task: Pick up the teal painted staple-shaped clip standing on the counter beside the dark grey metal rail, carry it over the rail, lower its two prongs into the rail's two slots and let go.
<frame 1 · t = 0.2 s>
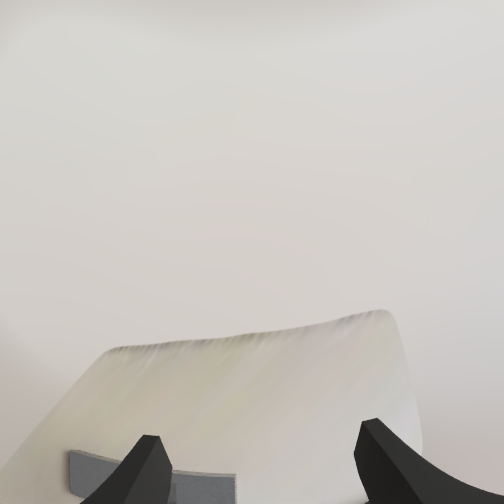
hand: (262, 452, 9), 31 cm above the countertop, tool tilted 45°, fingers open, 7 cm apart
rail: (150, 488, 29), on the countertop
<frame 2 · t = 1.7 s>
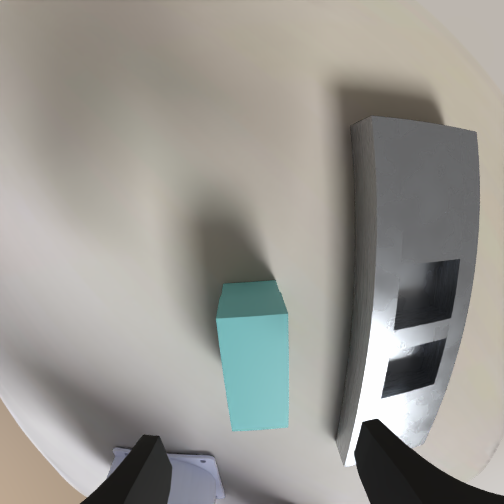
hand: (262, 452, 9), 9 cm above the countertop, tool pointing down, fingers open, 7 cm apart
rail: (400, 314, 18), on the countertop
clip: (253, 332, 18), on the countertop
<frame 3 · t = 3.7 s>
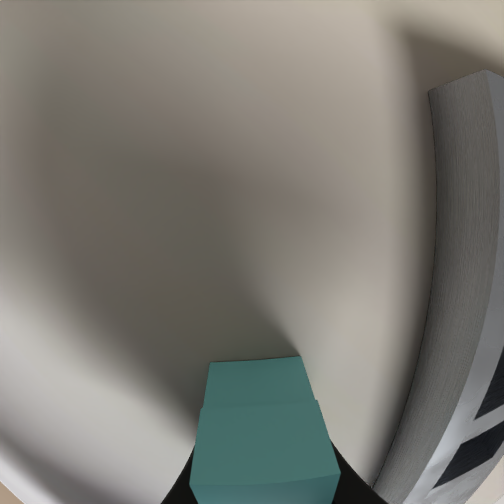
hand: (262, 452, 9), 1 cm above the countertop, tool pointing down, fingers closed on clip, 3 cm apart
rail: (468, 379, 10), on the countertop
clip: (260, 426, 10), on the countertop, touching gripper
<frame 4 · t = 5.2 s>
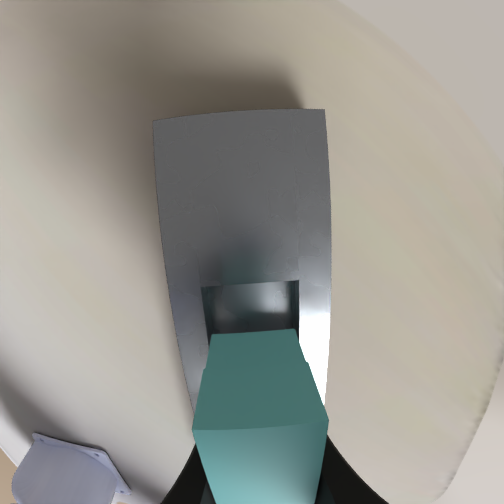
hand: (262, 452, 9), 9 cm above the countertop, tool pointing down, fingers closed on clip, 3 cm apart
rail: (253, 338, 17), on the countertop
clip: (258, 399, 11), point 6 cm above the countertop, touching gripper
when the fingers open (4 cm above the countertop, at t = 7.0 s): clip stays where it is, resting on rail.
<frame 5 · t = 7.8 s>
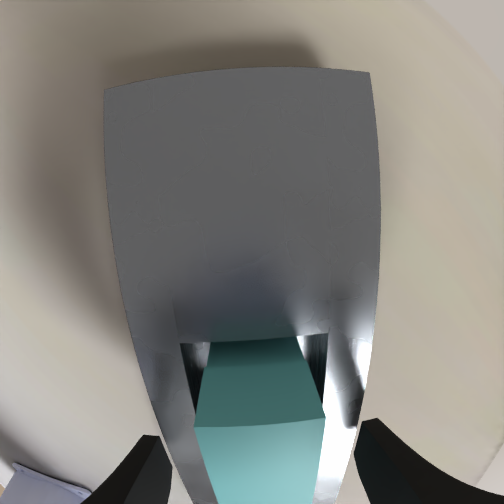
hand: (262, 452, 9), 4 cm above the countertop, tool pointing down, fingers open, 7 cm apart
rail: (257, 391, 12), on the countertop
clip: (257, 397, 11), point 1 cm above the countertop, touching rail
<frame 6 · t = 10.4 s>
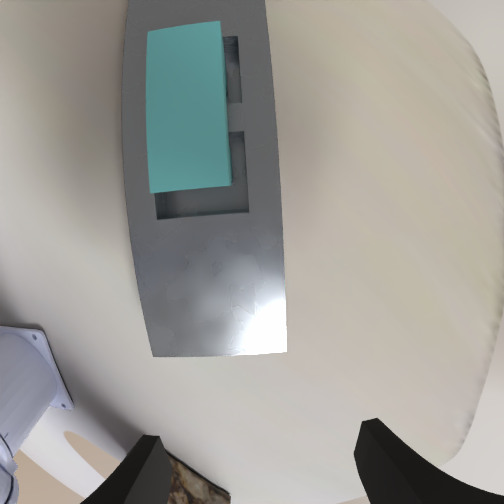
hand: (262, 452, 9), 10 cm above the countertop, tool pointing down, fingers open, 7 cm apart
rail: (203, 131, 16), on the countertop
clip: (201, 123, 15), point 1 cm above the countertop, touching rail
stone block: (184, 478, 23), on the countertop
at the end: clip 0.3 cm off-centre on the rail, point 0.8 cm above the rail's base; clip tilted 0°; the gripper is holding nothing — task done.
